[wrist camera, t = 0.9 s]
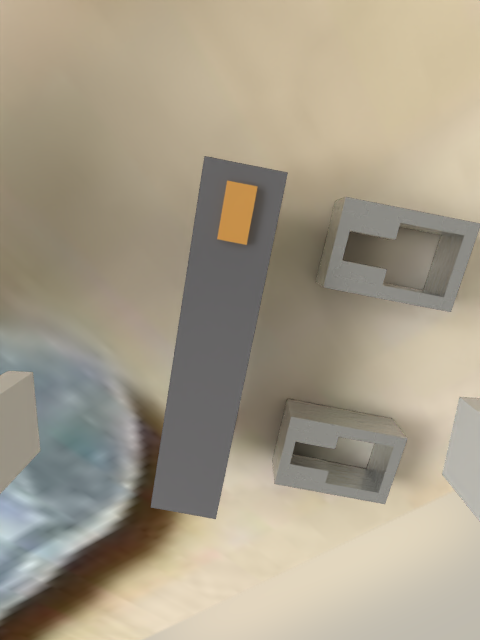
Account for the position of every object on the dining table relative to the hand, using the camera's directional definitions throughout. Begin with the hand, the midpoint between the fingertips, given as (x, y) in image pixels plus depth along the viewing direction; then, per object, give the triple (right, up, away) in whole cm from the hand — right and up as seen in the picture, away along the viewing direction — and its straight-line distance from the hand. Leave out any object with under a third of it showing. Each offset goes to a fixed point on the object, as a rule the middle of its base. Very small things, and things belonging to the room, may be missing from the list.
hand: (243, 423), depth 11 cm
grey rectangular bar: (-2, +3, +18) cm, 18 cm away
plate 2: (+11, +8, +16) cm, 21 cm away
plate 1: (+8, -7, +20) cm, 22 cm away
